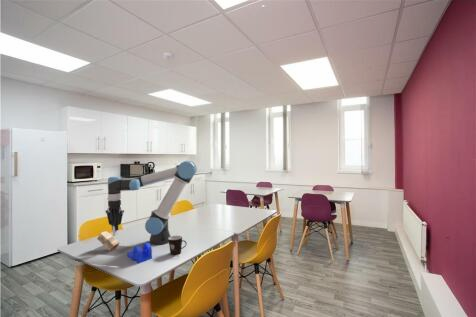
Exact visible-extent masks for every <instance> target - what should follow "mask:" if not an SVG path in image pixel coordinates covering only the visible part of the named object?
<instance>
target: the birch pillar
mask: <svg viewBox="0 0 476 317" xmlns="http://www.w3.org/2000/svg"><path fill="white" fill-rule="evenodd" d="M96 240H97V241H99V242H100V243H101V244H102V246H103V245H104V246H105V247H106V248H107V249H108V250H109V251H112V250H114V249H116V248H117V246H118V245H119V246H120V242H119V241H118V240H117V239H116V238H115V236H113V234H111V233H109V232H108V231H107V230H105V231H102V232H100V233H99V235H98V237H97V239H96Z"/></svg>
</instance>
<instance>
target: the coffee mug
mask: <svg viewBox="0 0 476 317" xmlns="http://www.w3.org/2000/svg"><path fill="white" fill-rule="evenodd" d="M170 236H171V237H169V238H168V240H169V242H168V245H169V246H168V247H169V252H170V255H171V256H178V255H181V254H182V250H183V249H184V248H185V247H187V244H188V243H187V240H184V239H183V236H182V235H170ZM183 242H184V243H185V245H184V246H183ZM182 246H183V247H182Z"/></svg>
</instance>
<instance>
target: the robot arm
mask: <svg viewBox="0 0 476 317" xmlns="http://www.w3.org/2000/svg"><path fill="white" fill-rule="evenodd" d="M196 172H197V164H195V163H194V162H193V161H190V160H185V161H182V162H180V164H177V165H176V166H174V167H172V168H168V169H164V170H160V171H156V172H152V173H149V174H145V175H142V176H136V177H134V178H128V179H122V178H121V176H110V177H108V178H107V200H108V201H107V202H108V203H107V204H108V209H106V210H105V213H106V217H107V220H108V225H110V226H111V231H112V236H113V237H115V236H116V237H117V236H118V234H119V233H118V231H119V226H120V225H121V224H122V219H123V217H124V216H123V215H124V212H125V210H124V209H122V208H121V205H122V200H121V199H122V197H121V196H122V195H121V193H122V192H123V191H127V192H128V191H133V192H134V191H139V189H140V188H144V187H146V186H150V185H153V184H156V183H161V182H164V181H170V180H172V179H173V180H172V183H171V184H170V186H169V188H168V189H167V192H166V193H165V194H164V196H163V198H162V199H161V201H160V203H159V206H158V207H157V208H156V209H153V210H151V213H150V216H149V218H148V219H147V220H146V221H145V224H144V228H145V231H146V233H148V234H150V237H149V243H150V245H155V246H160V245H165V244H169V240H168V238H169V237H171V236H172V235H171V234H170V230H169V219H170V213H171V212H172V210H173V208H174V206H175V204H176V202H177V201H178V199H179V198H180V195H181V194H182V192H183V190H184V188H185V187H186V185H188V184H190V182H191V181H192V179H193V178H194V176H195V175H196Z"/></svg>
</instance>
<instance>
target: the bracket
mask: <svg viewBox="0 0 476 317" xmlns="http://www.w3.org/2000/svg"><path fill="white" fill-rule="evenodd" d="M132 248H133V249H132V250H129V251H128V252H127V253H126V254H127V255H126V256H127V258H129V259H130V260H132V261H134V262H136V263H138V264H141V263H143V262H147V261H150V260H151V259H153V248H152V244H150V242H146V243H143V244H142V248H141V246H140V245H136V246H133V247H132Z"/></svg>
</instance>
